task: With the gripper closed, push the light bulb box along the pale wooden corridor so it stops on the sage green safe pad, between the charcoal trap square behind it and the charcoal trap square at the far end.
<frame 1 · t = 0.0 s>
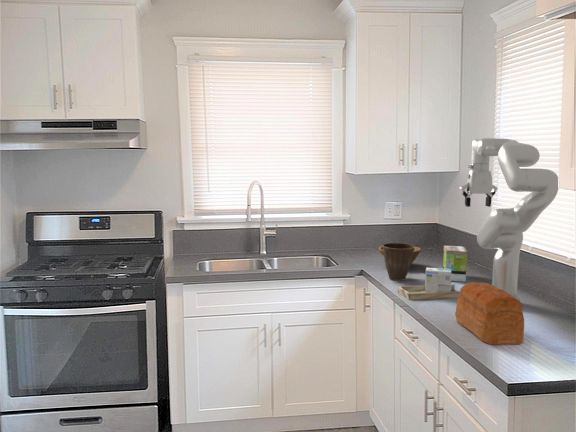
hand: (477, 206, 238), 37 cm above the worktop, tool pointing down, fingers open, 9 cm apart
plant pot: (397, 279, 259), on the worktop
bowl: (398, 266, 286), on the worktop
tea box: (453, 278, 262), on the worktop
light bulb box: (437, 294, 230), resting on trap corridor
bread: (487, 332, 184), on the worktop
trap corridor: (432, 294, 230), on the worktop
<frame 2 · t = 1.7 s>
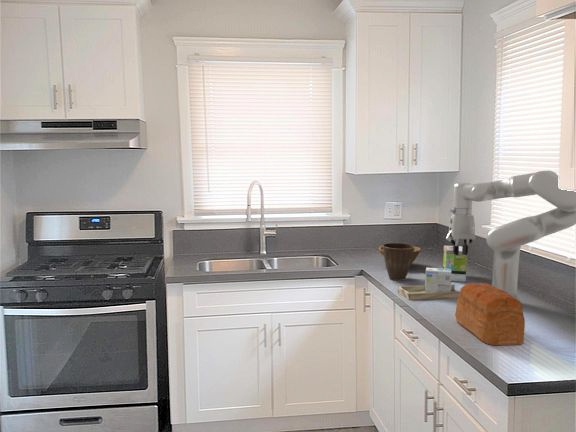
hand: (460, 254, 230), 17 cm above the worktop, tool pointing down, fingers open, 3 cm apart
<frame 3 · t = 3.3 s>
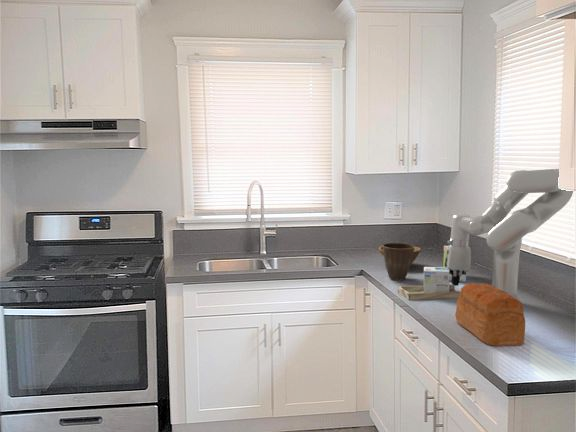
hand: (454, 284, 233), 4 cm above the worktop, tool pointing down, fingers closed
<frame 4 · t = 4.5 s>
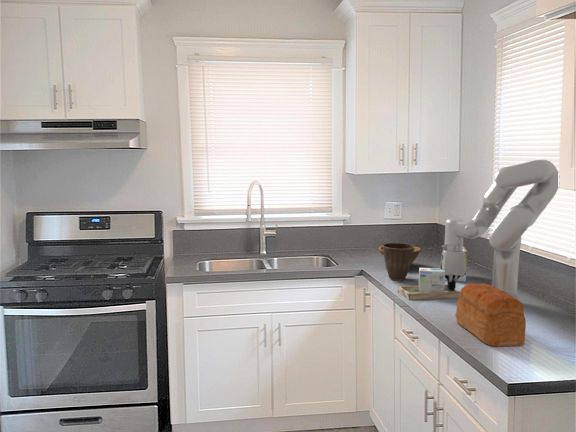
hand: (451, 289, 232), 2 cm above the worktop, tool pointing down, fingers closed
light bulb box: (431, 294, 230), resting on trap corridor, touching gripper
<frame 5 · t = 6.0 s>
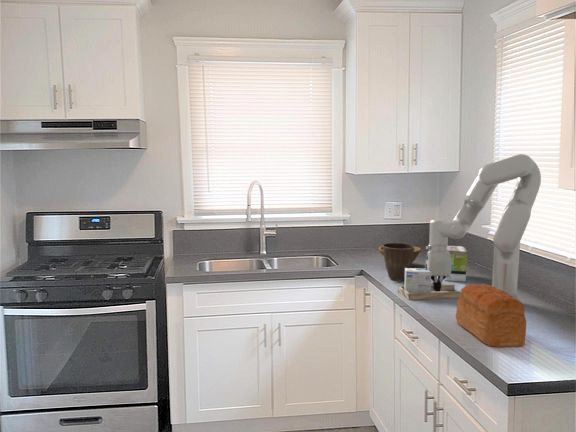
hand: (437, 290, 230), 2 cm above the worktop, tool pointing down, fingers closed
light bulb box: (416, 294, 230), resting on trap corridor, touching gripper
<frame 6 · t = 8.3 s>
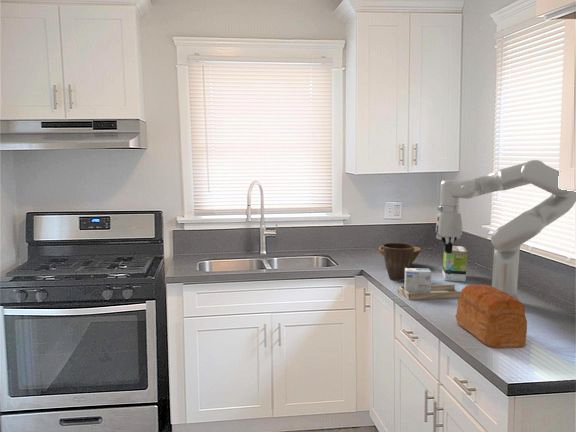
hand: (448, 252, 229), 18 cm above the worktop, tool pointing down, fingers closed
light bulb box: (416, 294, 230), resting on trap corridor
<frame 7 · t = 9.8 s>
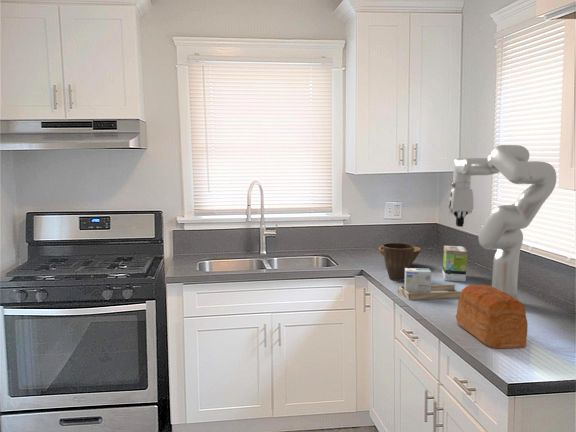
hand: (459, 226, 245), 27 cm above the worktop, tool pointing down, fingers closed
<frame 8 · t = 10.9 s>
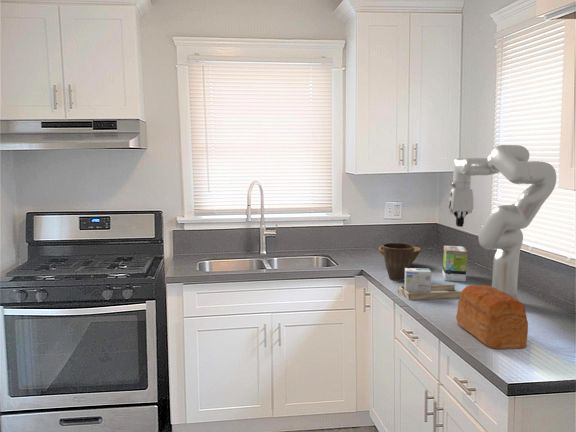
hand: (459, 226, 245), 27 cm above the worktop, tool pointing down, fingers closed
at the end: light bulb box inside the target area on the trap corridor (0.9 cm from its centre), point 0.0 cm above the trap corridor's base; light bulb box tilted 0°; light bulb box moved 9.1 cm from its start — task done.
